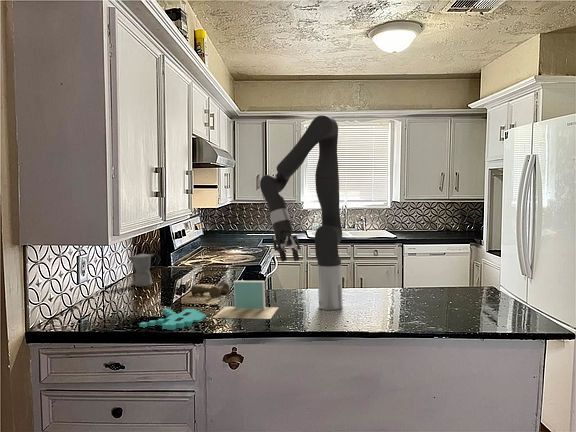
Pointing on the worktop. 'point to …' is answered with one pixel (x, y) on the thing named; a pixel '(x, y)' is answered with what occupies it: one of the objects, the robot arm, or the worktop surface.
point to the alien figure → (176, 319)
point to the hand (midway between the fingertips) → (290, 260)
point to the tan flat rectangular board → (246, 313)
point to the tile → (249, 295)
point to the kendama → (211, 289)
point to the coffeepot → (143, 268)
